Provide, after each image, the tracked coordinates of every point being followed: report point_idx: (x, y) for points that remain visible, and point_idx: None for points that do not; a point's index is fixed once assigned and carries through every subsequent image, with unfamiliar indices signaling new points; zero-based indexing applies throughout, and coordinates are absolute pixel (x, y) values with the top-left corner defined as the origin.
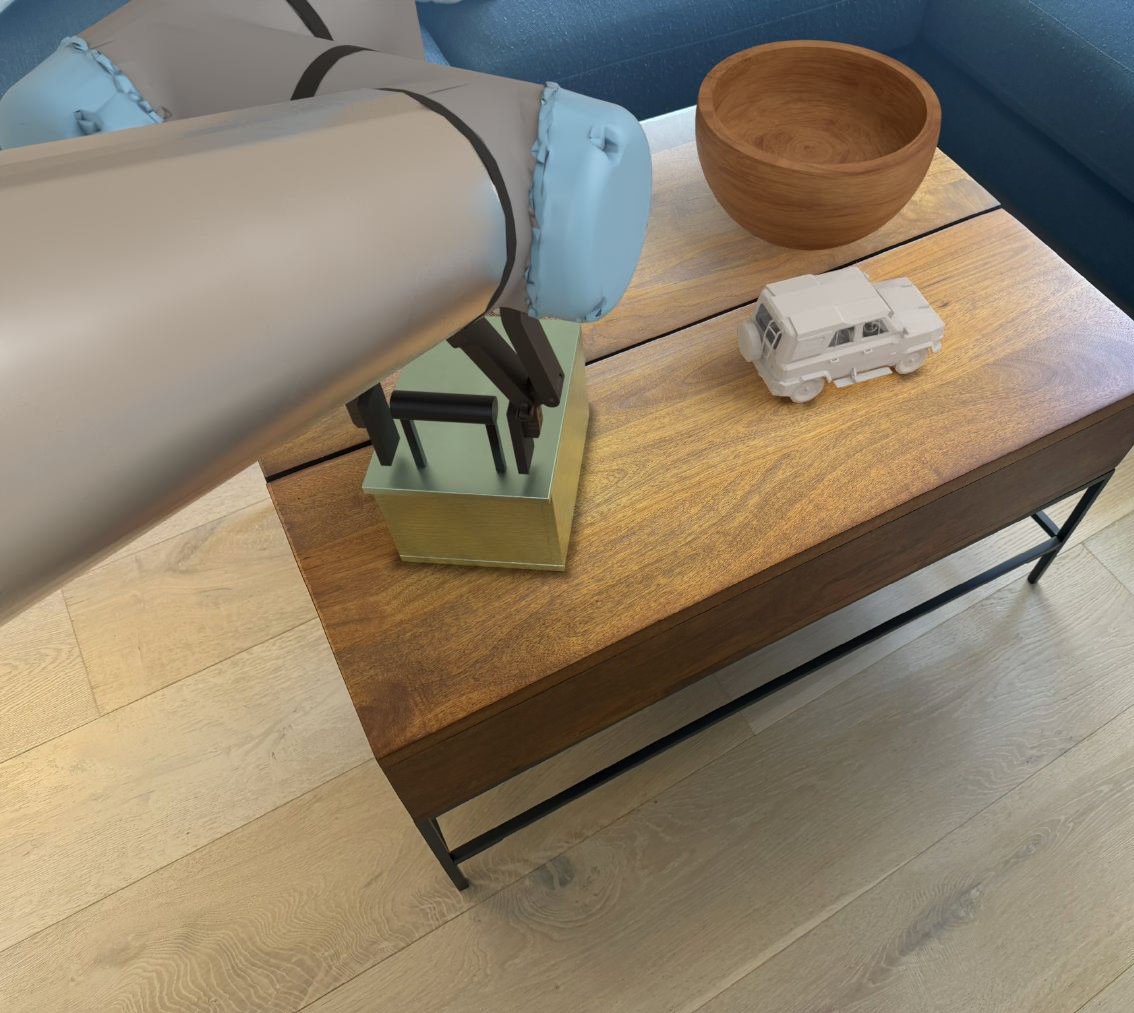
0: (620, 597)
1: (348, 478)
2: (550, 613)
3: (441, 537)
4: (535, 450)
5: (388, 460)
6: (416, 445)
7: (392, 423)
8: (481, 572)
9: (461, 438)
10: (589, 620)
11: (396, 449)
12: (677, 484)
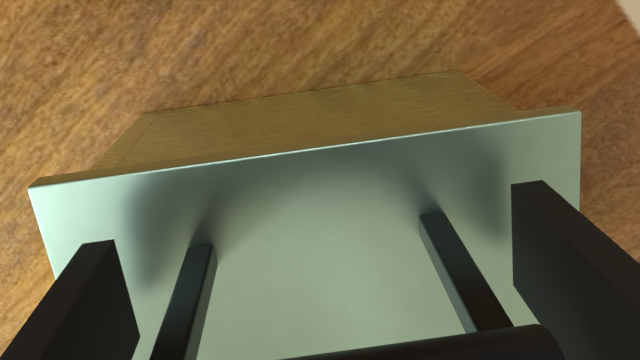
0: (13, 80)
1: (610, 223)
2: (133, 16)
3: (375, 104)
4: None
5: (522, 194)
6: (445, 260)
7: (545, 318)
8: (299, 78)
9: (349, 324)
10: (52, 16)
11: (512, 245)
12: (6, 336)
